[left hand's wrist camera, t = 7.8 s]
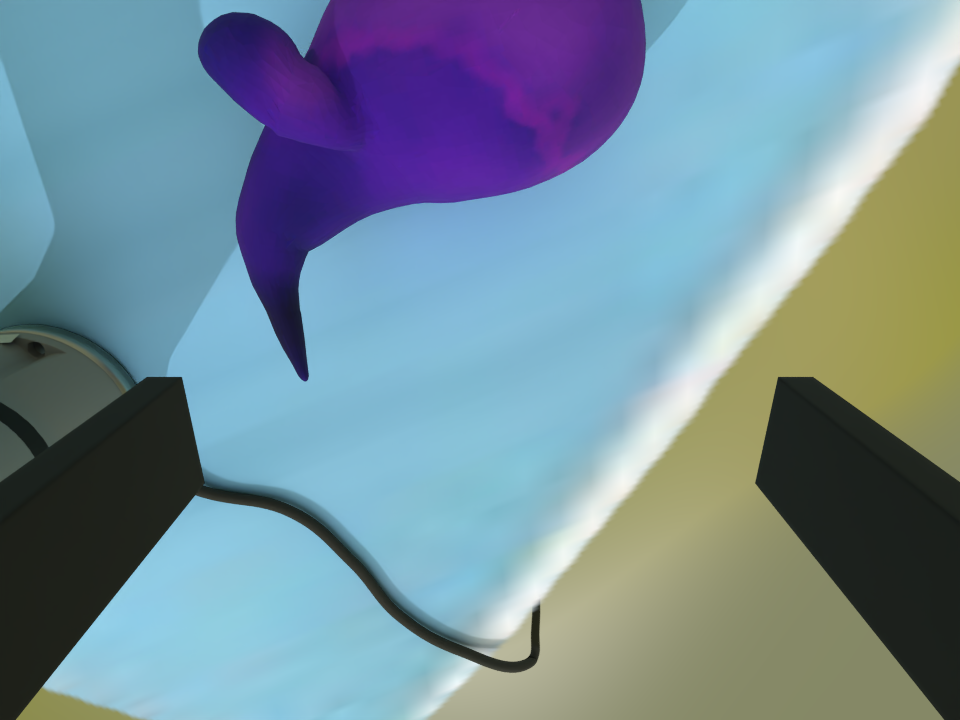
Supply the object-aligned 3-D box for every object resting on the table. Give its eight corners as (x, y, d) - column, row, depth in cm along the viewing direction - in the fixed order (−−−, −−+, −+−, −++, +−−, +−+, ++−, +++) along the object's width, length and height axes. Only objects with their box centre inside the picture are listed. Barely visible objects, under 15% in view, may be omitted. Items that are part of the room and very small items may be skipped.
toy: (211, 159, 40) (538, -54, 38) (339, 367, 42) (664, 172, 39) (28, 68, 25) (567, -303, 22) (244, 407, 26) (774, 87, 24)
